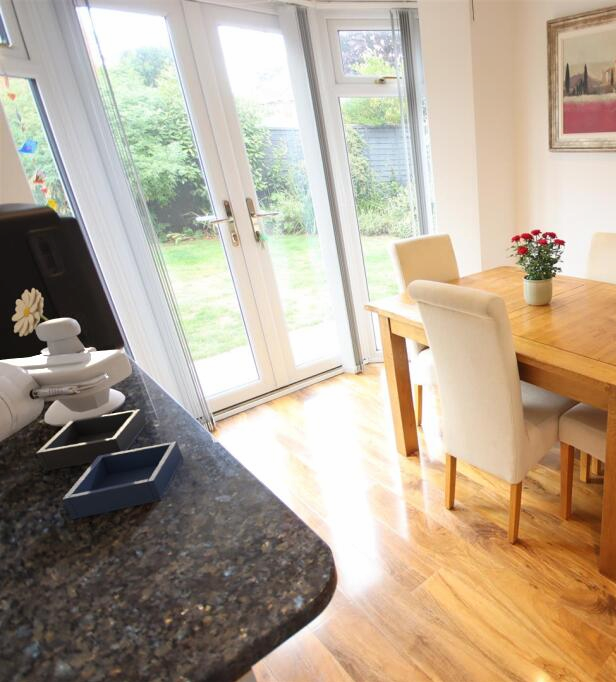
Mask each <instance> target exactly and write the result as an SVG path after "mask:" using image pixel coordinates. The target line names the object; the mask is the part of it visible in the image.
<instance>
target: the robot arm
mask: <svg viewBox="0 0 616 682" xmlns="http://www.w3.org/2000/svg"><path fill="white" fill-rule="evenodd" d="M132 373H133V369H132V365H131V362H130V360H129V357H128V355H127V353H126V352H124V350H123V349H108V350H98V351H97V349H96V347H93V346H92V347H85V348H84V349H82V350H80V351H77V352H76V353H75V354H64V355H53V356H49V351H48V352H45V353H43V354H42V353H41V354H39V355H34V356H30V357H21V358H9V359H1V360H0V443H1V442H3V441H4V440H6V439H7V438H9V437H10V436H12V435H14V434H15V433H17V432H18V431H20V430H22V429H23V428H25V427H26V426H28V425H29V424H30V423H33V422H34V421H35V420H36V419H38V418H39V417H40V415H41V413H42V412H43V410H44V406H45V402H55V401H56V400H64V399H74V398H82V397H87V396H91V395H94V394H97V393H99V392H102V391H104V390H106V389H108V388H110V389H111V387H113V386H115V385H117V384H119V383H120V382H122V381H123V380H126V379H127V378H128V377H130V376H131V375H132Z"/></svg>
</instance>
